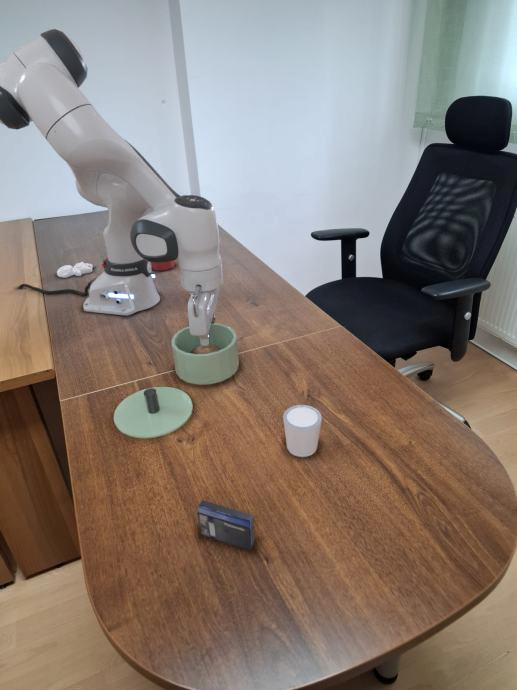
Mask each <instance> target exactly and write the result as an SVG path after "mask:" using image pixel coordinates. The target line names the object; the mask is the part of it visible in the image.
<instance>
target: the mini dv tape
mask: <svg viewBox="0 0 517 690" xmlns="http://www.w3.org/2000/svg"><path fill="white" fill-rule="evenodd" d="M254 516H255V515H254V514H251V513H247V512H245V511H241V510H238V509H234V508H231V507H228V506H224V505H221V504H218V503H214V502H210V501H206V500H204V499H201V500H200V502H199V503H198V506H197V518H198V525H199V531H200V535H202V536H204V537H207V538H210V539H213V540H217V541H220V542H223V543H226V544H228V545H232V546H235V547H238V548H240V549H241V548H242V549H244V550H247V551H253V547H254V546H255V543H256V531H255V517H254Z"/></svg>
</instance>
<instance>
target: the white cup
mask: <svg viewBox="0 0 517 690" xmlns="http://www.w3.org/2000/svg"><path fill="white" fill-rule="evenodd" d="M282 418H283V419H282V420H283V427H284V434H285V443H286V449H287V451H288V452H289V454H291V455H293V456H295V457H299V458H306V457H309V456H312V455H313V454H315V453H316V452H317V449H318V445H319V439H320V434H321V427H322V421H323V416H322V413H321V412H320V411H319V410H318V409H317V408H316V407H314V406H311V405H306V404H296V405H293V406H290V407H288V408H286V410H285V411H284V413H283V414H282Z"/></svg>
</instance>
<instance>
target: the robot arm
mask: <svg viewBox="0 0 517 690" xmlns="http://www.w3.org/2000/svg"><path fill="white" fill-rule="evenodd" d="M88 70H89V68H88V66H87V64H86V60H85V57H84V54H83V53H82V51H81V49H80V47H79V46H78V45H77V43H75V41H74V40H73V39H72V38H70V37H69V36H68V35H66V34H65V33H64V31H61V30H58V29H56V28H53V29H48V30H46V31H44V32H41V33H40V36H39V37H36V38H34V39H32V40H30V41H29V42H26V43H25V44H23V45H21V46H20V47H18V48H17V49H15V50H14V51H13V52H12V53H11V54H10V55H9V56H8V57H6V58H5V59H4V60H3V61H2V62H0V124H2V125H3V126H5V127H6V128H8V129H10V130H21V129H24V128H26V127H29V126H30V123H33V125H34V126H35V127H36V128H37V130H38V131H39V132H40V134H41V135H42V136H43V138H44V139H45V140H46V142H48V144H49V145H50V146H51V148H52V150H54V151H55V153H56V154H57V155H58V156H59V157H60V158H61V159H62V160H63V161H65V162H66V164H67V166H68V167H69V169H70V170H71V172H72V174H73V176H74V178H75V188H76V190H77V193H78V194H79V195H80V197H81V198H82V199H84V200H86V201H87V202H89V203H91V204H92V205H94V206H98V207H101V208H102V207H103V208H107V210H108V211H107V212H108V223H107V226H106V227H104V229H103V231H102V237H103V243H104V246H105V247H104V248H105V251H106V256H105V259H103V261H102V263H101V264H100V267H101V269H104V271H103V272H101V274H100V275H98V276H97V277H95V278H93V279H91V280H90V281H88V282H87V285H86V286H85V287H84V292H80V291H78V290H75V289H71V288H68V289H67V288H66V289H65V288H63V289H58V290H45V289H42V288H39V287H37V286H33V285H31V284H27V283H21V284H20V285H19V286H18V289H19V290H20V289H23V288H28V289H30V290H33V291H37V292H39V293H41V294H46V295H55V294H56V295H57V294H64V293H73V294H76V295H78V296H82V297H86V296H87V295H88V297H87V298H86V299H85V300H84V302H83V305H82V307H83V311H84V312H88V313H99V314H106V315H115V316H116V315H118V316H131V315H133V314H135V313H137V312H140V311H141V312H142V311H144V310H148V309H150V308H152V307H154V306H156V305H157V304H158V303H160V300H161V296H160V294H159V291H158V290H157V288H156V285H155V282H154V279H155V278H156V274H154V273H153V268H152V265H151V262H154V263H157V262H169V261H173V260H175V262H177V263H178V269H179V276H180V284H181V287H182V289H183V290H185V291H187V292H188V294H189V295H190V297H189V299H188V302H187V319H188V326H189V330H190V334H191V335H192V336H195V337H199V339H200V344H201V345H202V346H208V345H209V341H210V340H209V335H208V333H209V329H210V326H211V324H214V323H216V308H217V304H218V300H219V297H220V293H221V287H222V286H223V284H224V275H223V273H224V272H223V262H222V257H221V254H220V252H219V246H220V242H221V241H220V231H219V225H218V218H217V213H216V210H215V208H214V206H213V204H212V203H211V201H210V200H208V199H207V198H206V197H203V196H200V195H194V194H183V195H180V194H178V193H177V192H176V191H175V190H174V189H173V188H172V187H171V186H170V185H169V183H168V182H167V181H166V180H165V179H164V177H162V176H161V175H160V174H159V173H158V171H157V170H156V169H155V168H154V167H153V165H151V164H150V163H149V161H147V159H146V158H145V157H144V156H143V155H142V154H141V153H140V151H138V150H137V148H135V146H133V145H132V144H131V143H130V142H128V140H126V139H125V138H124V137H122V136H121V135H120V134H119V133H118V132H116V130H115V129H114V128H113V127H112V126H111V125H110V124H109V123H108V122H107V121H106V120H105V118H104V117H103V116H102V115H101V114H100V113H99V112H98V111H97V109H96V108H95V107H94V105H93V104H92V103H91V101H90V100H89V99H88V98H87V96H86V95H85V94H84V93H83V91H81V89H80V87H81V86H82V85H83V83H85V80H86V79H87V78H88ZM149 208H150V209H151V210H152V211H150V212H148V213H147V211H148V210H149ZM152 273H153V274H152Z"/></svg>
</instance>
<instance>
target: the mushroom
mask: <svg viewBox="0 0 517 690" xmlns="http://www.w3.org/2000/svg"><path fill="white" fill-rule="evenodd" d="M219 350H221V348H219V347H217V346H214V345H208V346H198V347H196V348H194V349H193V350H192V351H191V353H192V354H208V353H212V352H217V351H219Z"/></svg>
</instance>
